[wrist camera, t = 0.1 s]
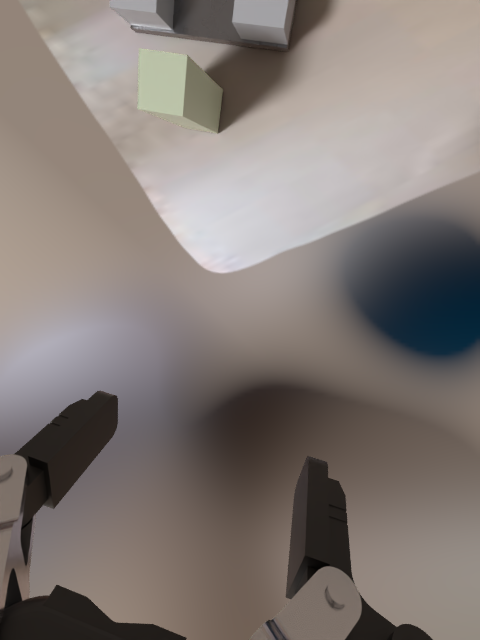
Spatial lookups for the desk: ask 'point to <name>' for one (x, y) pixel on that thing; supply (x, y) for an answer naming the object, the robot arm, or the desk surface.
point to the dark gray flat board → (209, 24)
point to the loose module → (178, 91)
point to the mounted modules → (248, 18)
